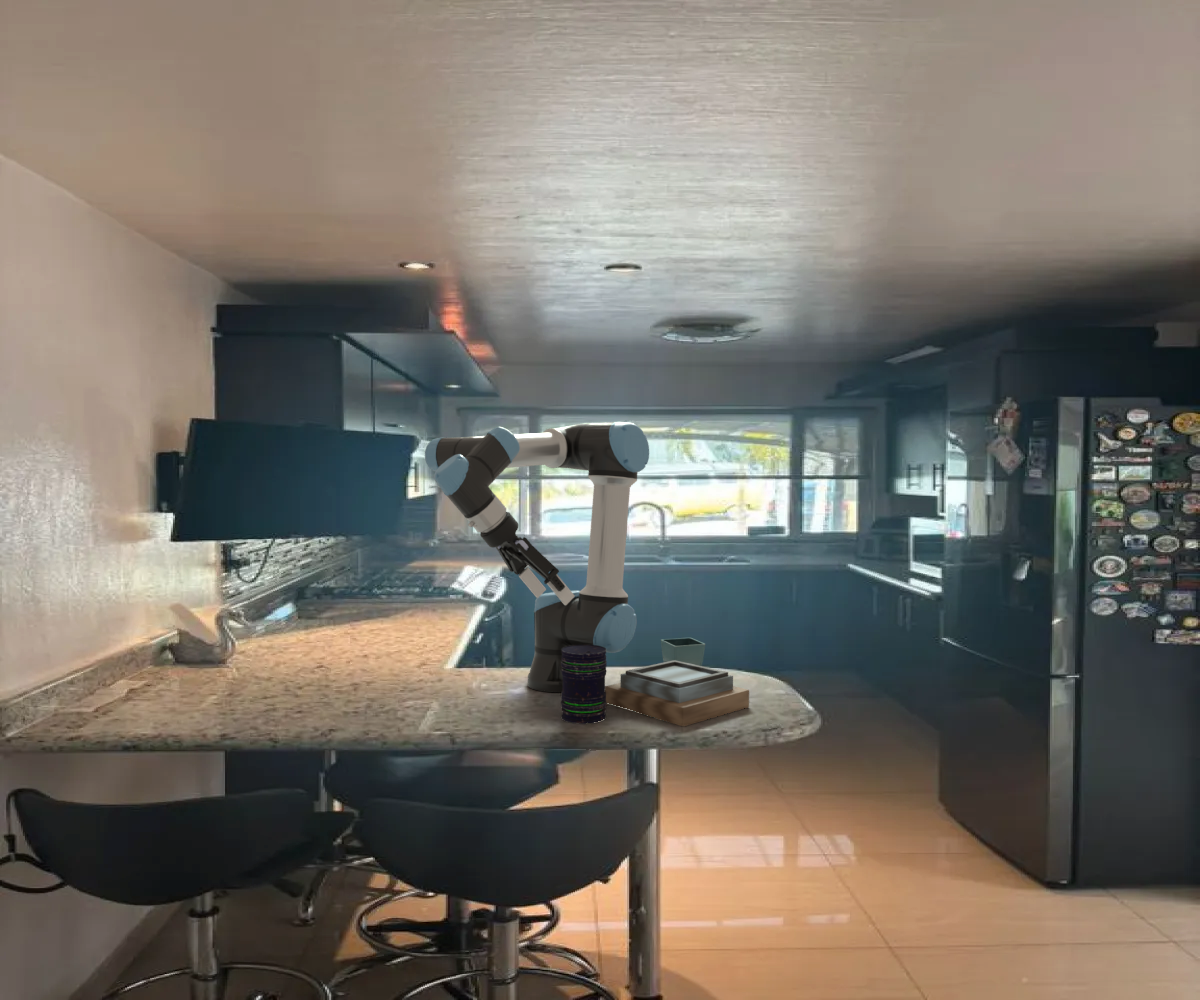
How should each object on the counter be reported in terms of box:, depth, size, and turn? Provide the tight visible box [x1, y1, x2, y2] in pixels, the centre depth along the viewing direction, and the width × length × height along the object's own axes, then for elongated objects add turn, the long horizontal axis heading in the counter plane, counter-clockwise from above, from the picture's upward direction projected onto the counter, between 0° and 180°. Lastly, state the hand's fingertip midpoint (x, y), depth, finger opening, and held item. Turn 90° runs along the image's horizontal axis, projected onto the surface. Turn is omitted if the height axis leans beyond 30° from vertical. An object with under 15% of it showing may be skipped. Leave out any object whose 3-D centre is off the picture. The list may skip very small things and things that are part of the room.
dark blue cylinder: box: [560, 645, 608, 725], centre depth 201 cm, size 10×10×15 cm
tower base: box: [605, 660, 750, 727], centre depth 211 cm, size 24×22×8 cm
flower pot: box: [660, 637, 706, 666], centre depth 239 cm, size 9×9×9 cm
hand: (555, 597), depth 196 cm, fingers open, 13 cm apart
